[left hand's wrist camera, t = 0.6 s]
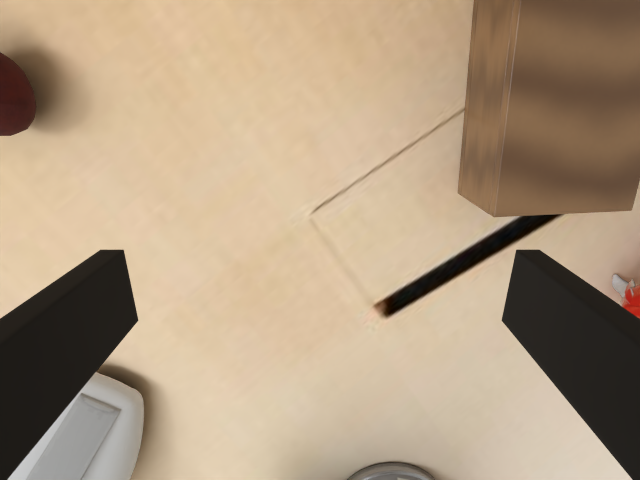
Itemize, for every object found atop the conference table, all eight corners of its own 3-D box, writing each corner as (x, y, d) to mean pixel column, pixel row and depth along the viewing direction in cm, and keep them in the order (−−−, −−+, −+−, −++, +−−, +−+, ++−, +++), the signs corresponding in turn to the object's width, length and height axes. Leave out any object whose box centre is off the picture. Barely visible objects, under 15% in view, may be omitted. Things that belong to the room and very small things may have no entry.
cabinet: (476, -30, 31) (529, -75, 23) (610, -38, 31) (709, -85, 23) (457, 193, 38) (493, 217, 30) (567, 187, 38) (632, 210, 30)
